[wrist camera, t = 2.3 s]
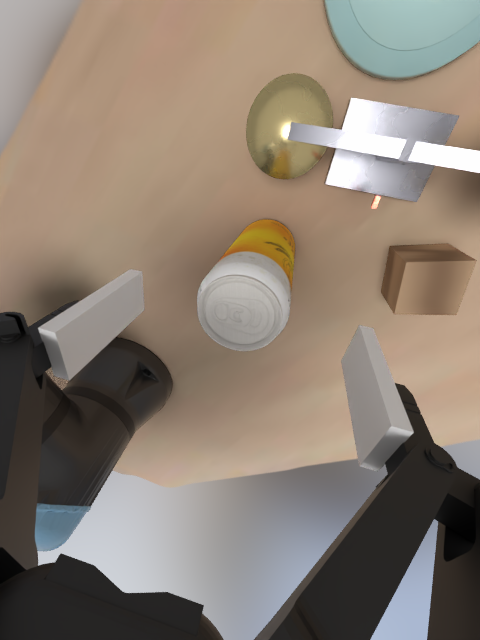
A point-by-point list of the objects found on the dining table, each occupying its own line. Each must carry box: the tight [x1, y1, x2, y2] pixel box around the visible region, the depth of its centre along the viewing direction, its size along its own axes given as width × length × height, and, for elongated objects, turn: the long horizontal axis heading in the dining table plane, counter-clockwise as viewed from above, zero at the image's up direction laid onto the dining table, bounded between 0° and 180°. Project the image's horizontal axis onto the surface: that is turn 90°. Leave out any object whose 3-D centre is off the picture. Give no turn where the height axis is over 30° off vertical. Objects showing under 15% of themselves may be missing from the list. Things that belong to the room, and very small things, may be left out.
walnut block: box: [381, 244, 477, 315], centre depth 25 cm, size 5×5×5 cm
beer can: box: [197, 219, 295, 351], centre depth 22 cm, size 6×6×15 cm
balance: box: [246, 73, 480, 209], centre depth 19 cm, size 22×7×9 cm, turn 81°
